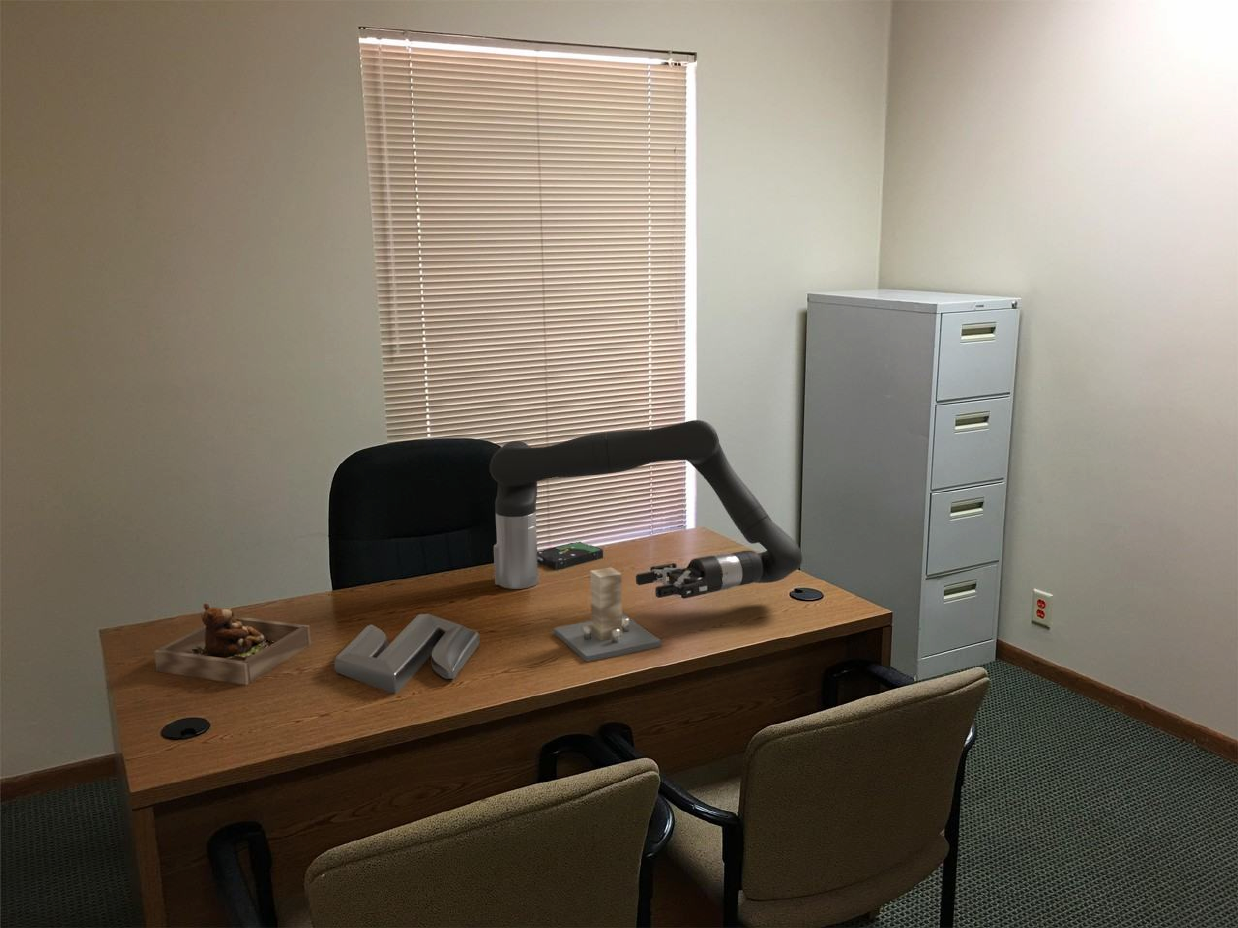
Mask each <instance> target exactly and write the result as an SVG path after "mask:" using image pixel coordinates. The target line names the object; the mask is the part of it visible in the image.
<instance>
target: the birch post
mask: <svg viewBox="0 0 1238 928" xmlns="http://www.w3.org/2000/svg"><path fill="white" fill-rule="evenodd" d="M589 575H590V576H589V577H590V621H591V631H592V633H593V634H594V635H595V636H597V637H598V638H599V639H600V640H605V639H610V638H612V629H613V628H618V629H619V631H620V636H622V615H623V607H622V605H623V603H622V602H623V601H622V594H623V592H622V588H623V587H622V573H621V572H619V571H617V570H616V569H615V568H613V567H612V566H611V567H605V568H600V569H592V570H590V571H589Z"/></svg>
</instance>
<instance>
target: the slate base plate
mask: <svg viewBox="0 0 1238 928" xmlns="http://www.w3.org/2000/svg"><path fill="white" fill-rule="evenodd" d="M553 634H554V635H555V636H556V637H558V639H560V641H562V642H563V643H564V644H565V645H566V646H567V647H569V648H570V649H571V650H572V651H573V652H575V653H576V654H577V655H578V656H579V657H580V658H582V660H584V661H585V663H591V662H595V661H599V660H604V659H610V658H614V657H618V656H623V655H628V654H632V653H638V652H641V651H647V650H651V649H655V648H660V647H662V640H661V639H659V638H658V637H656V635H654V634H652V633H651V632H650V631H648V630H647V629H645V628H644V627H643V626H641V625H639V624H638V622H636V621H634V620H633V619H631V618H630V617H629V616H628V615H626V614H623V613H622V636H620V631H619V629H618V628H613V629H612V638H610V639H605V640H600V639H599V638H598V637H597V636H595V635H594V634H593V633H592V631H591V620H589V621H588V620H587V621H583V622H579V623H572V624H568V625H567V624H566V625H561V626H558V627H554V628H553ZM646 649H647V650H646Z"/></svg>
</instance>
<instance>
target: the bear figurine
mask: <svg viewBox="0 0 1238 928" xmlns="http://www.w3.org/2000/svg"><path fill="white" fill-rule="evenodd" d="M203 608H204V610H205V611H204V612H203V614H202V615H201V620H202V623H203V625H206V630H205V647H204V646H202V647H198V646H196V647H197V648H193V649H192V651H193V652H194V653H193V654H197V655H204V656H211V657H218V658H225V659H231V660H238V661H244V660H246V659H248V658H250V657H251V656H253V655H255V654H256V653H258V652H260V651H261V650H263V649H265V648H266V647H268V646H269V644H268V643H267V641H265V639H264V638H265V637H264V636H263V635H262V634H261V633H260V632H258V631H257V630H255V629H254V628H252V627H249V626H242V623H241V622H240V621H237V620H236V618H235V617H234V616H235V612H233V611H232V607H228V608H223V609H221V608H220V607H210V605H209V604H208V603H204V604H203Z"/></svg>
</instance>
